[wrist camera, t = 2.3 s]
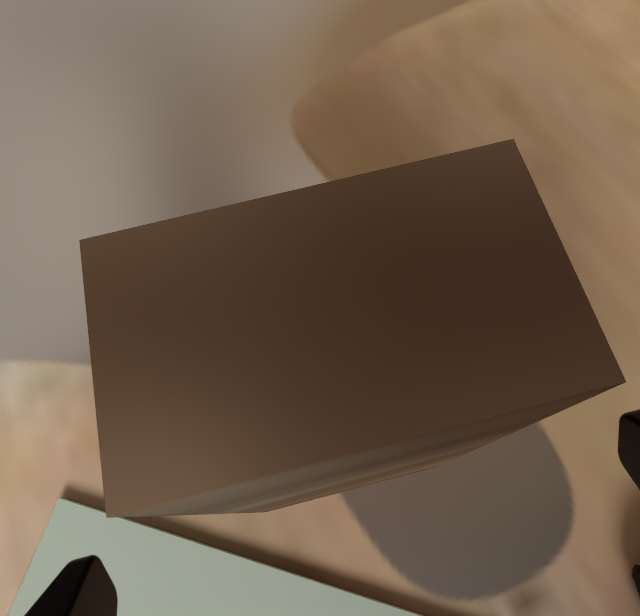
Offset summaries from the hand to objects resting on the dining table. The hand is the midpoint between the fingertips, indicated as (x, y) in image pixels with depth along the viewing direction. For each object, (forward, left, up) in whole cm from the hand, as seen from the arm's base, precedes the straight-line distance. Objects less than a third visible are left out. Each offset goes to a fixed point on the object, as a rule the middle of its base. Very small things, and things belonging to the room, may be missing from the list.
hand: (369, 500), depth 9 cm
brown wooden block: (+2, +1, -10) cm, 10 cm away
